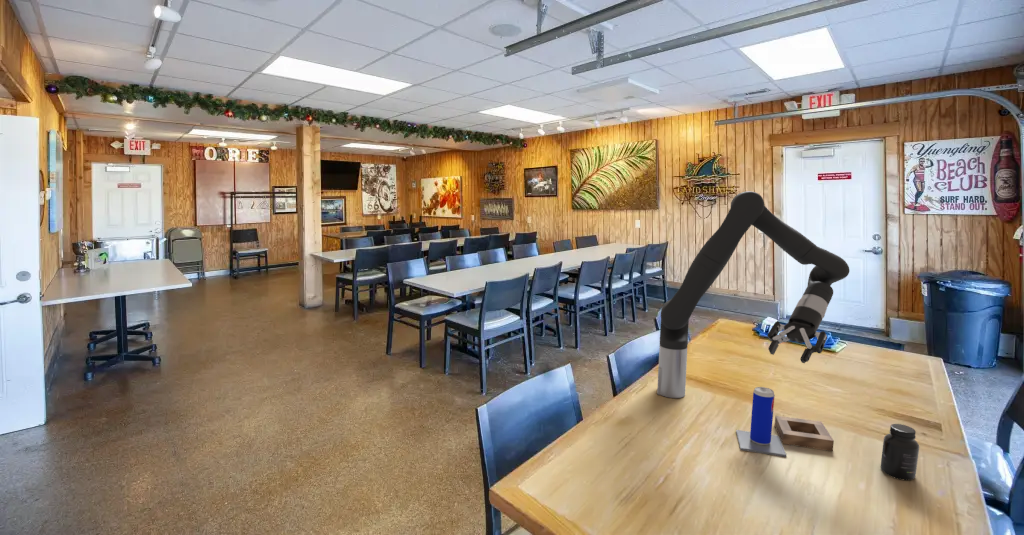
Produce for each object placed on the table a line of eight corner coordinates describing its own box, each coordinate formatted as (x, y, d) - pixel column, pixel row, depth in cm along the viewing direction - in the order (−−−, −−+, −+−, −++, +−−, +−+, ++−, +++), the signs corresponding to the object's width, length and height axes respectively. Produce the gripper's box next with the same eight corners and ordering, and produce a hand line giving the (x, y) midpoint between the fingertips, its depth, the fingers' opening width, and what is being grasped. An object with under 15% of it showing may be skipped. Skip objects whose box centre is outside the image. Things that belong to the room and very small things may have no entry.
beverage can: (773, 446, 130) (777, 394, 128) (752, 444, 131) (756, 392, 129) (767, 437, 135) (771, 387, 133) (747, 436, 136) (751, 385, 134)
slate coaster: (740, 449, 129) (740, 447, 129) (736, 431, 139) (736, 429, 139) (786, 457, 126) (786, 454, 126) (778, 437, 136) (778, 435, 136)
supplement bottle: (873, 466, 121) (878, 421, 119) (898, 465, 122) (903, 420, 120) (897, 482, 114) (902, 435, 113) (923, 480, 115) (929, 433, 113)
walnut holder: (782, 443, 132) (783, 433, 132) (774, 424, 144) (775, 415, 143) (832, 451, 129) (833, 440, 128) (820, 431, 140) (821, 421, 139)
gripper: (780, 301, 145) (757, 343, 140) (833, 310, 133) (810, 356, 128) (786, 315, 149) (765, 357, 144) (838, 326, 137) (816, 371, 132)
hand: (786, 357), depth 136 cm, fingers open, 8 cm apart
